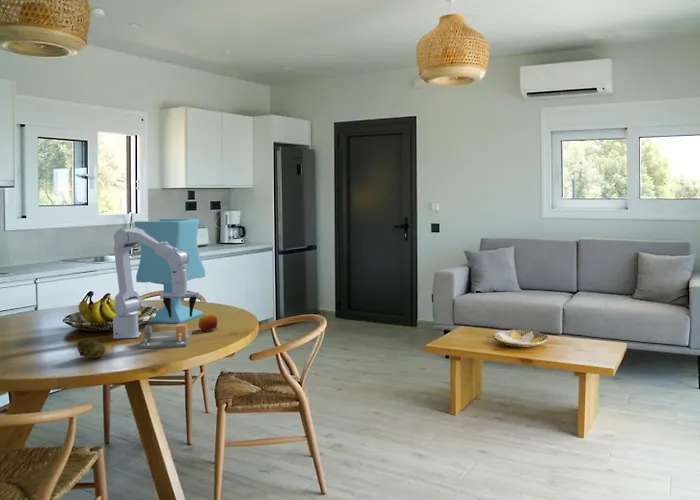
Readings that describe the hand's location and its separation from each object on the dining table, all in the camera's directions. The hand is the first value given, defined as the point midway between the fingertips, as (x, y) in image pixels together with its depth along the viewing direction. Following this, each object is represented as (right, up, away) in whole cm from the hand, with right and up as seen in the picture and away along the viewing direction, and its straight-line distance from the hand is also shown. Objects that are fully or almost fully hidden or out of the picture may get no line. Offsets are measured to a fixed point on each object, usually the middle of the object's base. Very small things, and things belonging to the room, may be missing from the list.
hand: (180, 316), depth 255 cm
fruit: (+6, -8, +21) cm, 23 cm away
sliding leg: (+1, -9, -1) cm, 9 cm away
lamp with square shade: (-15, -6, +46) cm, 49 cm away
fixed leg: (-12, -9, -3) cm, 15 cm away
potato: (-26, -13, -21) cm, 36 cm away
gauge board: (-6, -10, +3) cm, 12 cm away
